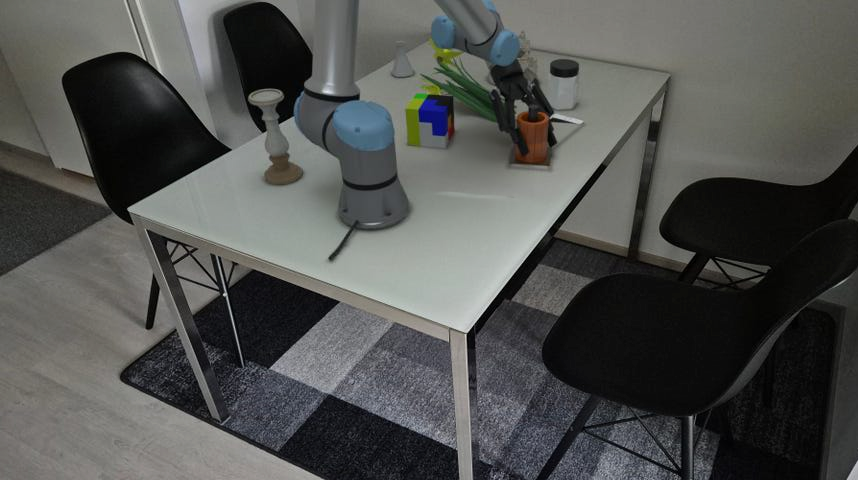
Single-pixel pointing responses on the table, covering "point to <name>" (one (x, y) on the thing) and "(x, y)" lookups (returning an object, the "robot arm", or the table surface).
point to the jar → (563, 84)
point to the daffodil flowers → (471, 96)
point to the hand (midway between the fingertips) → (539, 149)
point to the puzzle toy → (430, 120)
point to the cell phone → (565, 119)
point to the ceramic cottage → (524, 60)
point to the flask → (401, 62)
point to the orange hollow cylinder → (533, 137)
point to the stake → (546, 162)
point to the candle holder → (275, 139)
